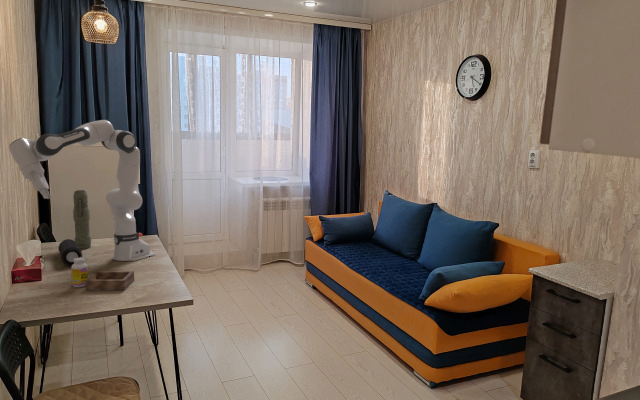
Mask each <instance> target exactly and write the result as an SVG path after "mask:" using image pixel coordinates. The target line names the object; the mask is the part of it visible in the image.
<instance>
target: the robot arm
mask: <svg viewBox="0 0 640 400" xmlns="http://www.w3.org/2000/svg"><path fill="white" fill-rule="evenodd" d="M99 143H101V144H102V146H103V147H104V148H105V149H108V150H110V151H116V152H118V155H119V156H118V164H117V172H116V180H117V181H118V185H119V188H114V189H110V190H108V192H107V194H106V196H105V200H106V202H107V204H108V205H109V207H110V211H111V214H112V217H113V223H114V234H113V241H114V251H113V255H112V260H114V261H120V262H121V261H123V262H125V261H129V262H130V261H131V262H135V261H139V260H142V259H145V258H146V259H147V258H150V257H152V256H155V255H156V254H155V252H154V251H152V250H151V247H150V245H149V244H148V243H147V242H146V241H144V240H143V239H142V237H143V236H144V235H143V233H142V232H137V224H136V218H135V216H134V214H133V212H132V211H136V210H138V209H140V208H141V206H142V205H143V197H142V195H141V194H140V189H139V173H140V165H141V153H140V152H141V151H140V148H139V147H137V140H136V136H135V135H134V133H132V132H130V131H129V130H128V131H127V130H121V129H117V130H116V129H114V126H113V124H112V122H110V120H109V121H108V120H107V119H100V120H95V121H91V122H86V123H84V124H82V125H80V126H77V127H76V128H75V129H73V130H69V131H66V132H61V133H44V134H42V135H40V136H39V137H38V139H36V140H35V139H28V138H26V137H19V138H17V139H15V140H14V141H12V142H11V143H10V144H9V146H8V149H9V152H10V154H11V156H12V158H13V161H14V162H15V163H16V164H17V166H18V169H19V171H20V172H21V175H22V176H23V178H24V179H25V180H29V182H31V184H32V187H33V188H34V190H35V191H38V192H39V193H40V194H41V195H42V197H43V199H44V200H45V199H47V200H50V199H51V198H52V196H51V194H50V191H49V189H50V187H49V184H48V182H47V179H46V177H45V169H44V168H43V166H42V163H41V162H44V161H45V162H46V161H48V160H50V159H51V158H53V156H55V155H56V154H58V153H60V152H61V150H63V148H65V147H68V146H70V145H74V144H80V145H81V146H84V147H87V146H93V145H96V144H99ZM149 256H150V257H149Z"/></svg>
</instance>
